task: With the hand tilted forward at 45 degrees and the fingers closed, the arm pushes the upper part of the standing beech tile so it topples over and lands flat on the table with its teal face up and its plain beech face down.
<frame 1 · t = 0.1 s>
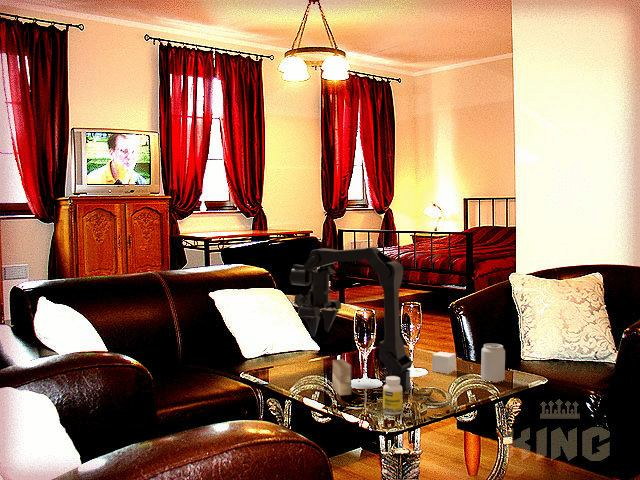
hand: (320, 333, 228), 15 cm above the table, tool pointing down, fingers open, 9 cm apart
can: (492, 381, 225), on the table
white cube: (443, 372, 237), on the table
tile: (341, 391, 213), on the table
supplement bottle: (392, 412, 193), on the table
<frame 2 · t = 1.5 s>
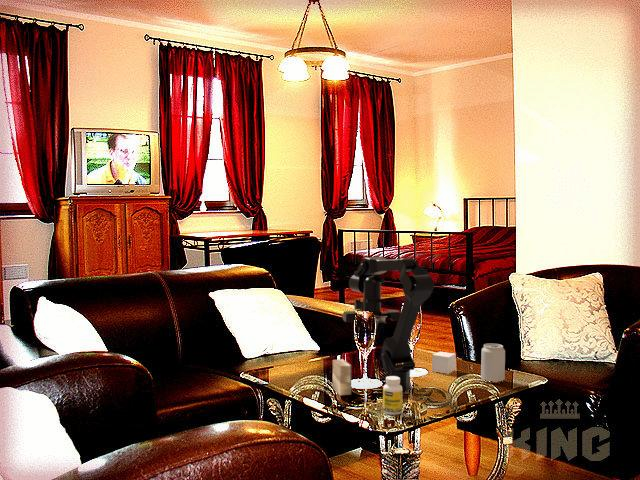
hand: (371, 341, 227), 12 cm above the table, tool pointing down, fingers closed
nothing on the table moved.
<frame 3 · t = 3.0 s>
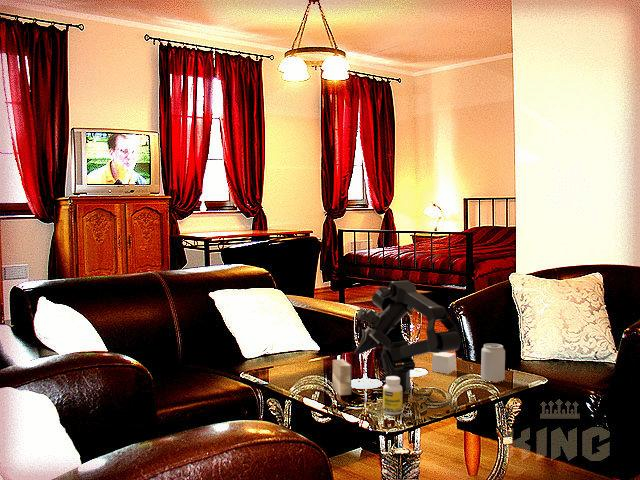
hand: (355, 353, 213), 12 cm above the table, tool tilted 45°, fingers closed
nothing on the table moved.
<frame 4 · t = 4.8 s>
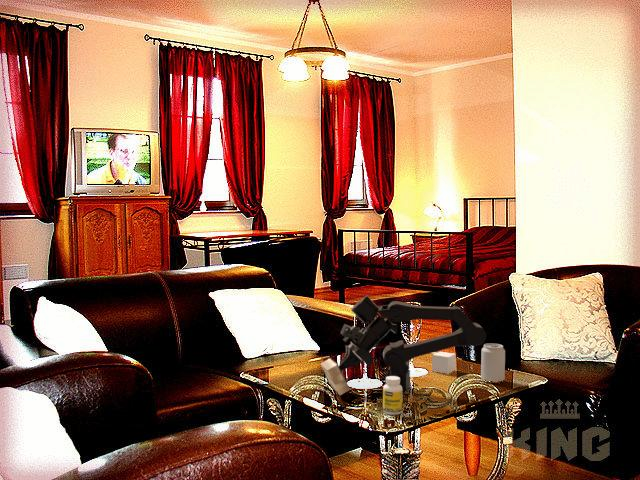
hand: (338, 369, 212), 7 cm above the table, tool tilted 45°, fingers closed
tile: (341, 388, 213), point 1 cm above the table, tilted 27°
everything else where it was.
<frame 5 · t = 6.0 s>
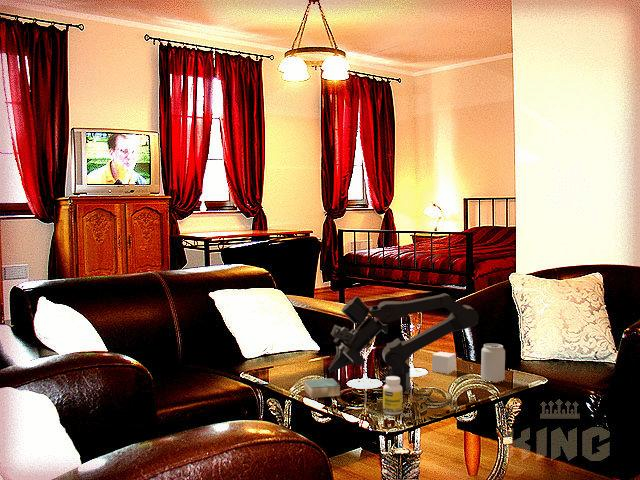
hand: (329, 370, 212), 7 cm above the table, tool tilted 45°, fingers closed
tile: (336, 387, 212), point 1 cm above the table, tilted 90°
everything else where it was.
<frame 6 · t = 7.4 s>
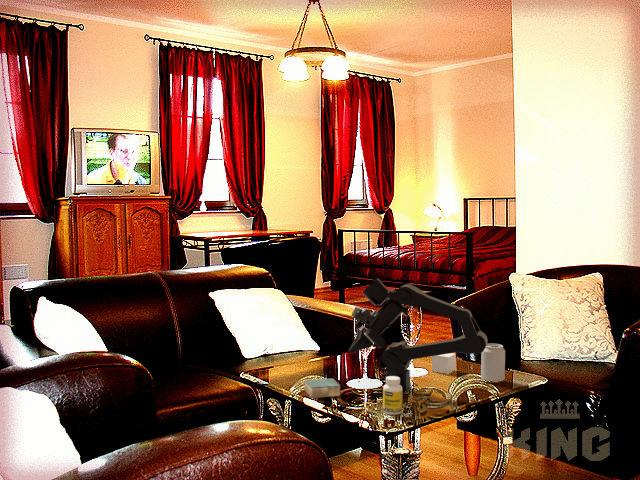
hand: (349, 352, 212), 12 cm above the table, tool tilted 45°, fingers closed
nothing on the table moved.
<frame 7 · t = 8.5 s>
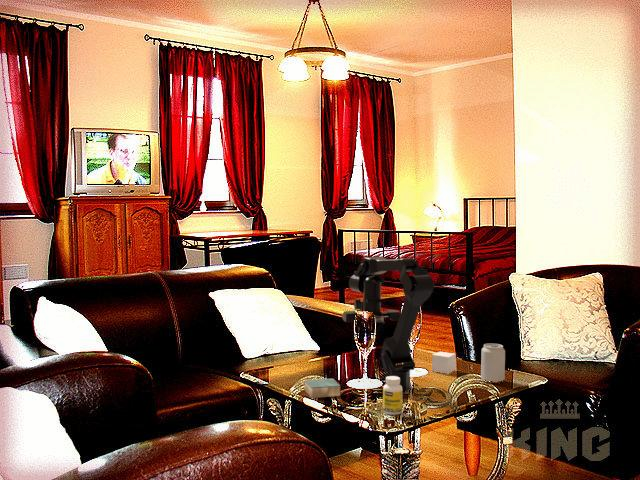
hand: (371, 341, 227), 12 cm above the table, tool pointing down, fingers closed
nothing on the table moved.
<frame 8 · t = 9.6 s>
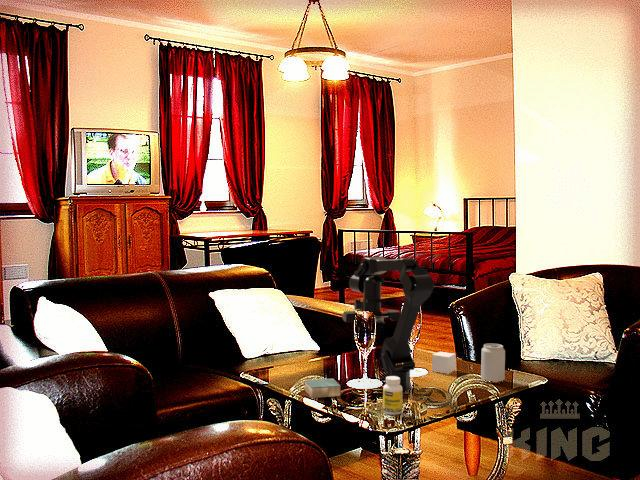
hand: (371, 341, 227), 12 cm above the table, tool pointing down, fingers closed
nothing on the table moved.
at the end: tile tilted 90°; tile inside the target area (4.0 cm from its centre), point 1.4 cm above the table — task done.
